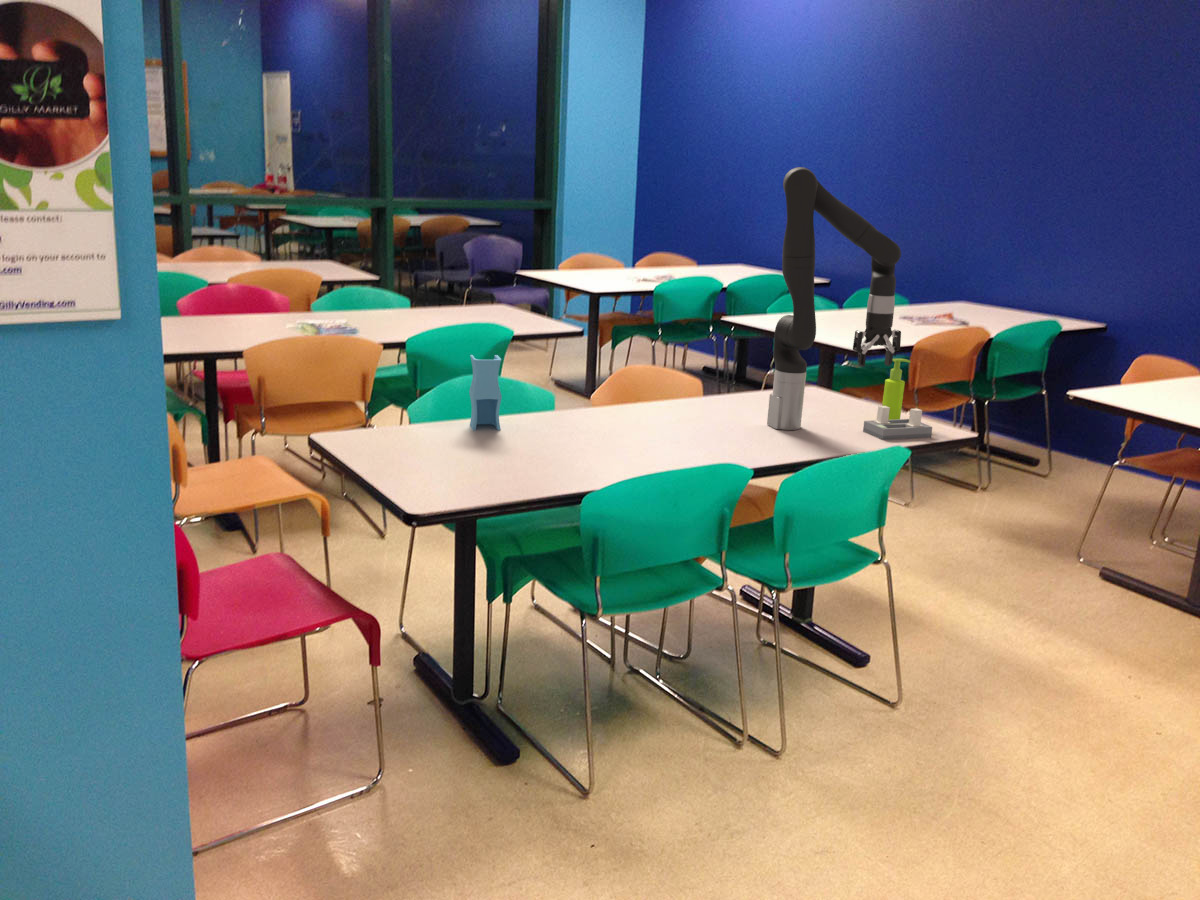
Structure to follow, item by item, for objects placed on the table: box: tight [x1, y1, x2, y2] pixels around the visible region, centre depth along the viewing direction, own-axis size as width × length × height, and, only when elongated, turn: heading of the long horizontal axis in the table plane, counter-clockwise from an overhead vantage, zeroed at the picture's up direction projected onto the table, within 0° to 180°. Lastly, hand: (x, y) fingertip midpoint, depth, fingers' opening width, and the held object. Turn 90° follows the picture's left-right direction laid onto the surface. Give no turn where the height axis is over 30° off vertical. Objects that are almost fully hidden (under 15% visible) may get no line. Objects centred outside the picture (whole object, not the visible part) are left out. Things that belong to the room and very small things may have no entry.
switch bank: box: [862, 418, 933, 441], centre depth 306 cm, size 17×10×3 cm, turn 110°
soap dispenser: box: [881, 358, 912, 420], centre depth 319 cm, size 6×7×20 cm
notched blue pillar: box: [469, 354, 503, 432], centre depth 289 cm, size 8×8×20 cm
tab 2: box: [905, 408, 923, 427], centre depth 305 cm, size 4×3×7 cm
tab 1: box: [872, 405, 891, 424], centre depth 306 cm, size 4×3×7 cm
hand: (874, 365), depth 301 cm, fingers open, 8 cm apart
